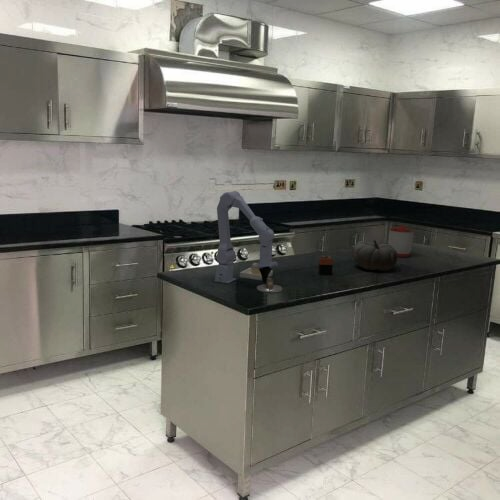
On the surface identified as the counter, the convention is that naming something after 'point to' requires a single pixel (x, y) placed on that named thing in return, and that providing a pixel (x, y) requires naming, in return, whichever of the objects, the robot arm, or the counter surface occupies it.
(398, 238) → the citrus juicer
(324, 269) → the battery
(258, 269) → the stop block
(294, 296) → the counter surface
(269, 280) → the crank lever
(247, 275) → the tray
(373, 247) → the gourd
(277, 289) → the crank base
